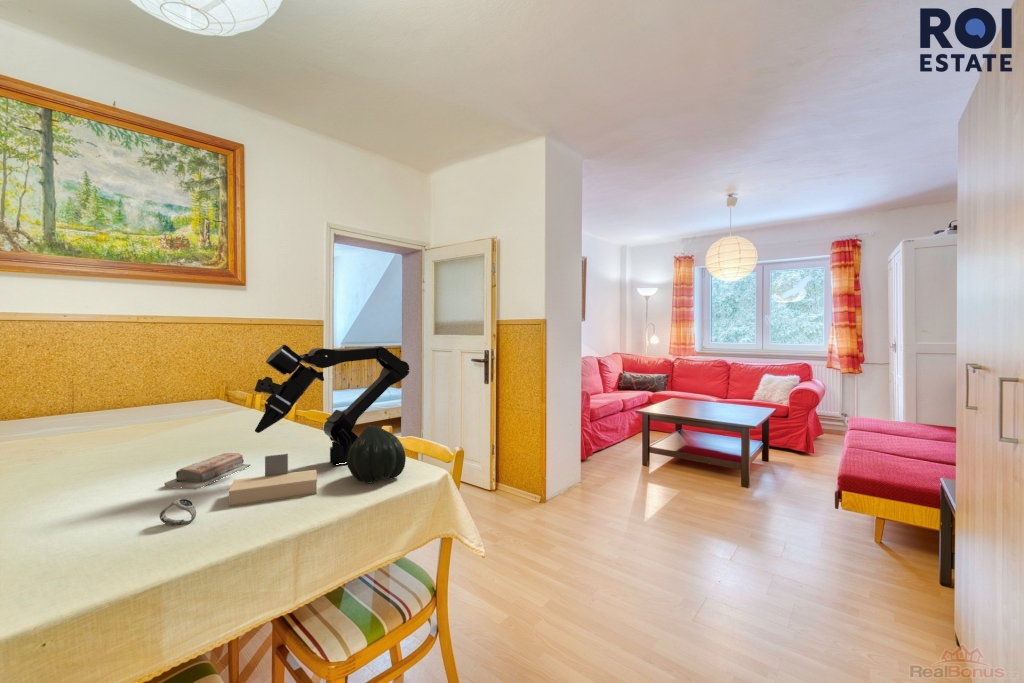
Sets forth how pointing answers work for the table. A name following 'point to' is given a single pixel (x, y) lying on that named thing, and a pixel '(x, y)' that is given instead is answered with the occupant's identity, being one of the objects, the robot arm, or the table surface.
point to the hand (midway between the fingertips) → (257, 431)
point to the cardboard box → (272, 493)
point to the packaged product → (208, 471)
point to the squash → (376, 455)
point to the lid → (274, 476)
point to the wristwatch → (181, 504)
